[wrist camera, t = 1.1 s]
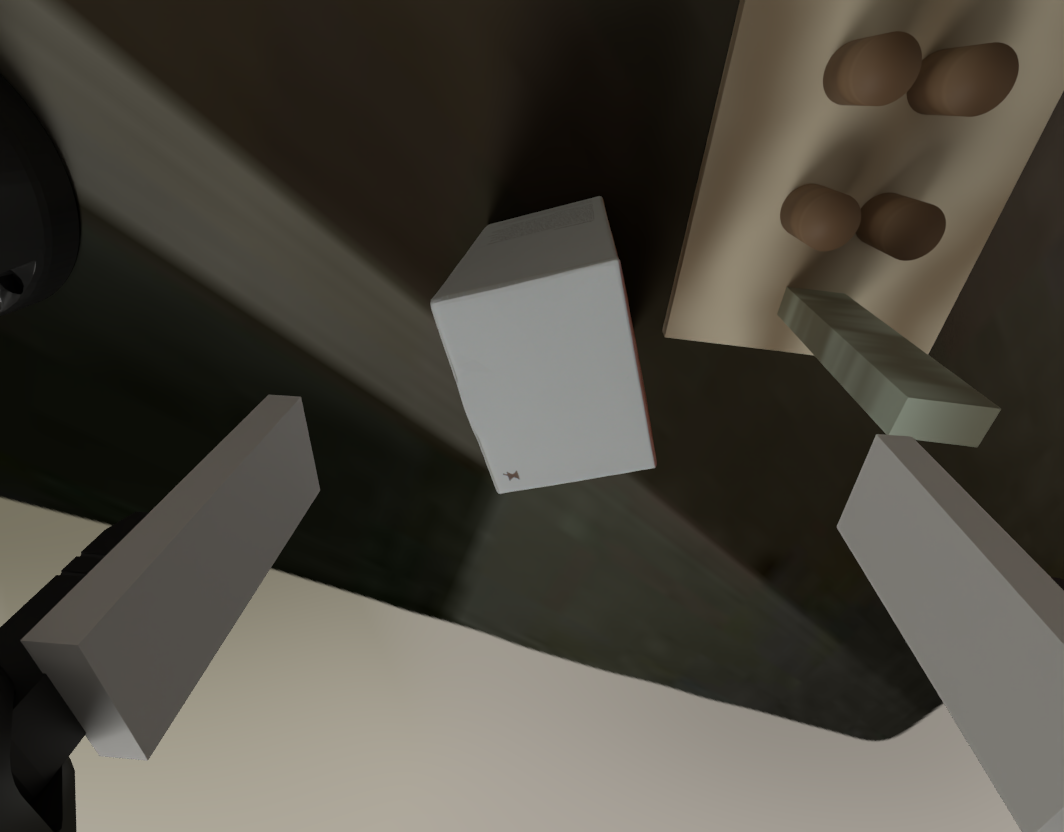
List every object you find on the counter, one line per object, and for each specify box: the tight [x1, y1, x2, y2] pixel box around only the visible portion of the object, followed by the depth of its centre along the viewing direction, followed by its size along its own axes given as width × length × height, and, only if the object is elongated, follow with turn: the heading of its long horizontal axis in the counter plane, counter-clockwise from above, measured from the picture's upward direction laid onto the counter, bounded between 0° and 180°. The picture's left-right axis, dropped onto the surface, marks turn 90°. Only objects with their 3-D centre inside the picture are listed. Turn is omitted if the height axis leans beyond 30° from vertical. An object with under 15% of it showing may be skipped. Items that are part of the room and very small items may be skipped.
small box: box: [430, 196, 657, 494], centre depth 24 cm, size 8×6×13 cm
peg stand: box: [662, 0, 1064, 447], centre depth 20 cm, size 14×20×13 cm
